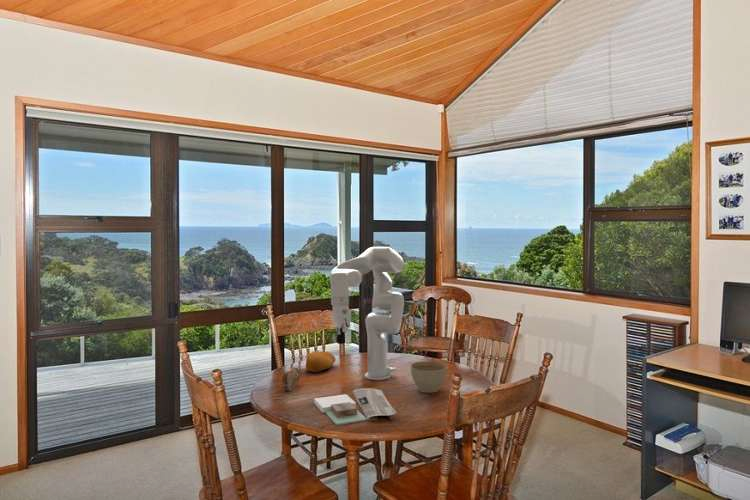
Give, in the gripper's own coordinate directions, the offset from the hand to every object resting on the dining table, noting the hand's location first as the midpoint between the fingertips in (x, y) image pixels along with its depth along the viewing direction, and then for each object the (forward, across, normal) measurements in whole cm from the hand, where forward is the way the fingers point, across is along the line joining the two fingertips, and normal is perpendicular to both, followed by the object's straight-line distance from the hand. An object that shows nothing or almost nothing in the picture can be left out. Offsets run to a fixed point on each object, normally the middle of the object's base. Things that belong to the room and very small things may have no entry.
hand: (341, 343), depth 211 cm
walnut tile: (+22, -19, +7) cm, 30 cm away
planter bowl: (+25, -7, -38) cm, 46 cm away
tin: (+24, +23, +17) cm, 37 cm away
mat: (+23, -22, +7) cm, 32 cm away
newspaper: (+24, -15, -8) cm, 30 cm away
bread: (+25, +48, -6) cm, 55 cm away
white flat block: (+23, -9, +7) cm, 26 cm away
